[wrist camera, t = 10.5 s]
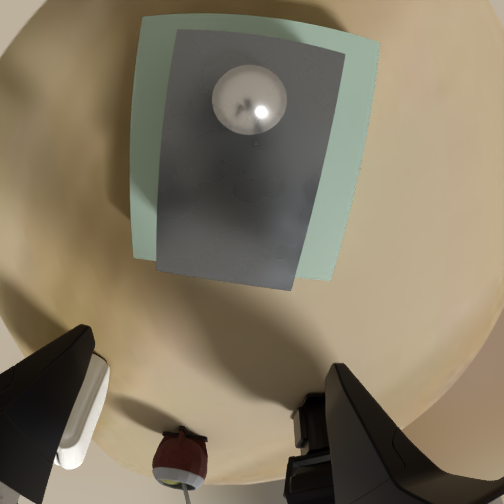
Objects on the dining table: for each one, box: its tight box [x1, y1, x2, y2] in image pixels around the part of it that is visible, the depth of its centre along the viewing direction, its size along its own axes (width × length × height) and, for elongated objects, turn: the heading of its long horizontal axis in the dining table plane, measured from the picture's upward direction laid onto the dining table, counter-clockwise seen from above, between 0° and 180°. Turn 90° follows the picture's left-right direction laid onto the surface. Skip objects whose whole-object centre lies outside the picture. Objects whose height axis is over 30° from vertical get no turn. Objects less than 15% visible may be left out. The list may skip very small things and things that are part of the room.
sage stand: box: [130, 13, 380, 281], centre depth 15 cm, size 12×14×3 cm
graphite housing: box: [156, 29, 346, 291], centre depth 12 cm, size 10×6×5 cm, turn 171°
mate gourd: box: [152, 426, 208, 504], centre depth 27 cm, size 8×8×15 cm
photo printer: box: [53, 354, 110, 469], centre depth 23 cm, size 10×4×12 cm, turn 153°
